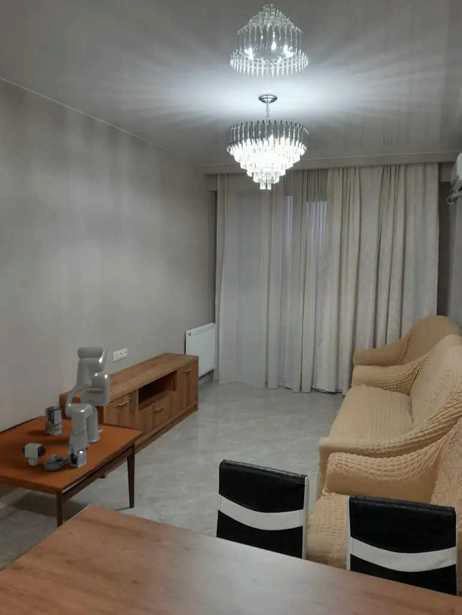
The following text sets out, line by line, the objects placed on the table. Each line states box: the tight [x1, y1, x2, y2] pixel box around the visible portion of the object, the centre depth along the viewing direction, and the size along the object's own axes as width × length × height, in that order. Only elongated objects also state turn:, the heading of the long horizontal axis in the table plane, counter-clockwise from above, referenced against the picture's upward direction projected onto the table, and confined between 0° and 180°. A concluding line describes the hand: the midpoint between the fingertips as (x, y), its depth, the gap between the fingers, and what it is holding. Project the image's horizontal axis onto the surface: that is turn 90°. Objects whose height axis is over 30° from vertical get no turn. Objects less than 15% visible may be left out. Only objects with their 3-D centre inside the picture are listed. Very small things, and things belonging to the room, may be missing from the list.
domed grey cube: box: [69, 450, 88, 469], centre depth 256 cm, size 6×6×8 cm
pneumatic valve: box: [21, 442, 47, 466], centre depth 254 cm, size 6×12×12 cm, turn 78°
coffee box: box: [45, 405, 63, 436], centre depth 297 cm, size 9×6×16 cm
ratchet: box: [44, 453, 70, 473], centre depth 257 cm, size 22×9×7 cm, turn 152°
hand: (78, 461), depth 256 cm, fingers closed on domed grey cube, 6 cm apart
